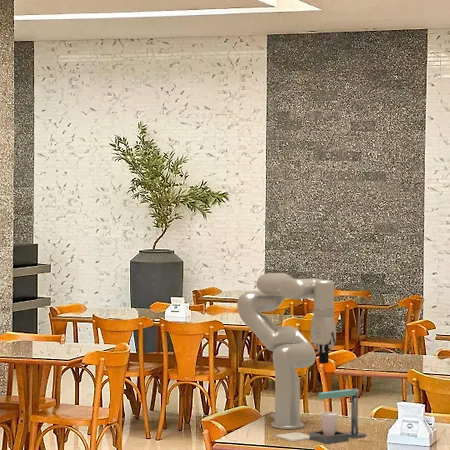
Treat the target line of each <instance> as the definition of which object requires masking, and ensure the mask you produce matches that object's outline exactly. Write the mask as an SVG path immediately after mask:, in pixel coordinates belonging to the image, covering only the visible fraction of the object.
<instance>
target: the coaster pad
mask: <svg viewBox="0 0 450 450" xmlns="http://www.w3.org/2000/svg"><path fill="white" fill-rule="evenodd" d="M275 437H276V438H279V439H282V440H285V441H288V442H299V441H300V442H301V441H305V440H311V439H310V434H306V433H303V432H298V431H296V432H295V431H294V432H290V433H289V432H287V433H280V434H275Z"/></svg>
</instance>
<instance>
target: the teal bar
mask: <svg viewBox="0 0 450 450" xmlns="http://www.w3.org/2000/svg"><path fill="white" fill-rule="evenodd" d="M359 391H360V389H359V388H349V389H341V390H330V391H322V392H318V393H317V394H318V399H320V400H328V399H335V398H345V397H351V396H355V395H358V396H359V394H360V392H359Z"/></svg>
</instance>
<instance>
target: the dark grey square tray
mask: <svg viewBox="0 0 450 450" xmlns="http://www.w3.org/2000/svg"><path fill="white" fill-rule="evenodd" d="M309 436H310V439H309V440H311V441H314V442H317V443H318V442H319V443H322V444H325V445H329V444H336V443H343V442H349V434H347V432H344V431H343V432H342V431H340V430H337V429H335V435H333V436H325V435H323V429H322V430H316V431H310V432H309Z"/></svg>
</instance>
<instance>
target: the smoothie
mask: <svg viewBox="0 0 450 450" xmlns="http://www.w3.org/2000/svg"><path fill="white" fill-rule="evenodd" d="M338 417H339V414H338V412H334V411H329V401H328V400H327V401H326V411H322V412H320V418H321V425H322V430H323V435H325V436H333V435H335V430H337V429H336V427H337V419H338Z"/></svg>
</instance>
